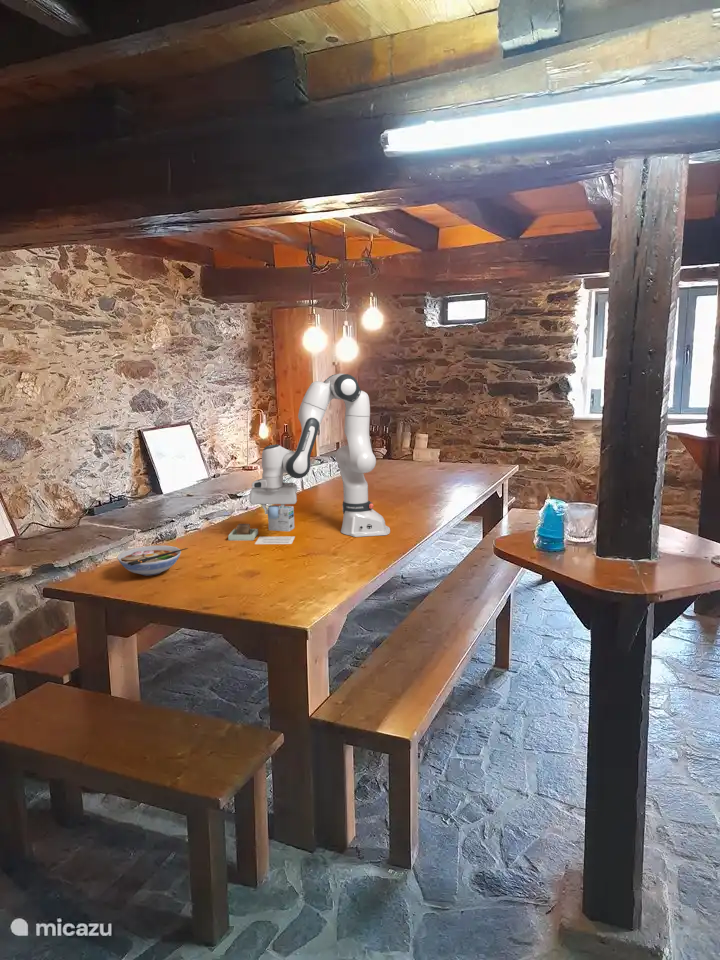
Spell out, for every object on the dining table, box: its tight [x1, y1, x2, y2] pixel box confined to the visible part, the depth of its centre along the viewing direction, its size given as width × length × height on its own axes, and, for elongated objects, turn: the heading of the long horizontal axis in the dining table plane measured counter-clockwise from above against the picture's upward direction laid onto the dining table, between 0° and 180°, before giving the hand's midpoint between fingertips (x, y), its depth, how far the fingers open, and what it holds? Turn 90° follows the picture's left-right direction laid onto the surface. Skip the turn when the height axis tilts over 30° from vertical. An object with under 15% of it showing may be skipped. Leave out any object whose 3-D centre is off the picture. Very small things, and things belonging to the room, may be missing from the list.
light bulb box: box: [267, 505, 296, 532], centre depth 306 cm, size 11×7×11 cm, turn 74°
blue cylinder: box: [267, 504, 280, 519], centre depth 285 cm, size 4×4×5 cm
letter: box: [254, 535, 296, 545], centre depth 288 cm, size 16×12×1 cm
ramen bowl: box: [117, 544, 189, 577], centre depth 246 cm, size 25×23×8 cm
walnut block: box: [235, 523, 251, 535], centre depth 293 cm, size 5×5×5 cm
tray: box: [228, 528, 259, 542], centre depth 294 cm, size 11×11×2 cm
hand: (273, 513), depth 286 cm, fingers closed on blue cylinder, 4 cm apart
